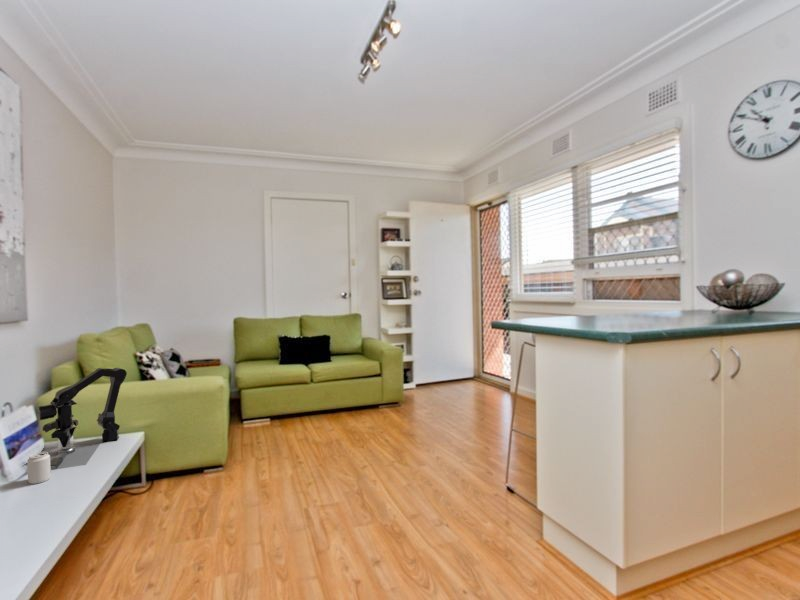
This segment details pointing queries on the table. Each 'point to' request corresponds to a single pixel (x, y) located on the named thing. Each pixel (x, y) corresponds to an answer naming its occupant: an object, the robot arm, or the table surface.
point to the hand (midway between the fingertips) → (66, 445)
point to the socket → (69, 443)
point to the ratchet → (60, 457)
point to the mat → (78, 456)
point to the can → (39, 467)
